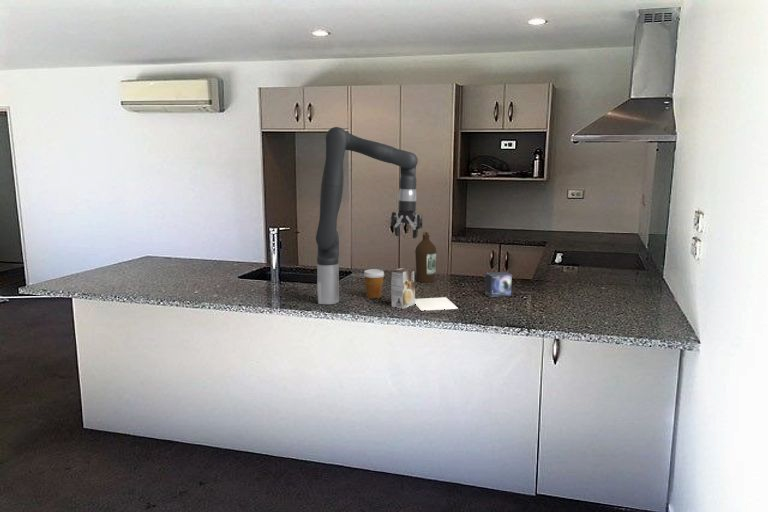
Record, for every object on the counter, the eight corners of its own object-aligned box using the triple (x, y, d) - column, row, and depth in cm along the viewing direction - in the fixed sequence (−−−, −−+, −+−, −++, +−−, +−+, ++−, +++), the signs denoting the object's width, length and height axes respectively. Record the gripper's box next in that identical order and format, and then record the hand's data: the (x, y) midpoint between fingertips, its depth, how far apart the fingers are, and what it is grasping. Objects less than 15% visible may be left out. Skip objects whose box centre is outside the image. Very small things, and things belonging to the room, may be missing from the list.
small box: (490, 298, 261) (491, 275, 260) (484, 295, 268) (484, 272, 266) (511, 296, 264) (512, 274, 262) (505, 293, 270) (505, 271, 269)
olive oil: (410, 280, 297) (411, 232, 292) (424, 277, 304) (425, 230, 300) (426, 284, 289) (426, 234, 285) (440, 280, 297) (441, 232, 292)
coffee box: (403, 302, 255) (403, 266, 252) (415, 304, 251) (415, 268, 248) (390, 306, 248) (390, 270, 245) (403, 309, 244) (403, 271, 241)
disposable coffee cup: (360, 295, 267) (360, 270, 265) (380, 293, 270) (380, 268, 268) (367, 300, 258) (367, 274, 256) (387, 298, 261) (387, 272, 259)
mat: (420, 310, 242) (420, 309, 242) (411, 299, 259) (411, 299, 259) (457, 308, 244) (457, 307, 244) (446, 298, 262) (446, 297, 262)
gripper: (388, 198, 249) (387, 236, 252) (417, 201, 242) (416, 240, 245) (397, 198, 255) (396, 234, 258) (426, 200, 248) (424, 238, 251)
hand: (406, 237), depth 251 cm, fingers open, 8 cm apart
